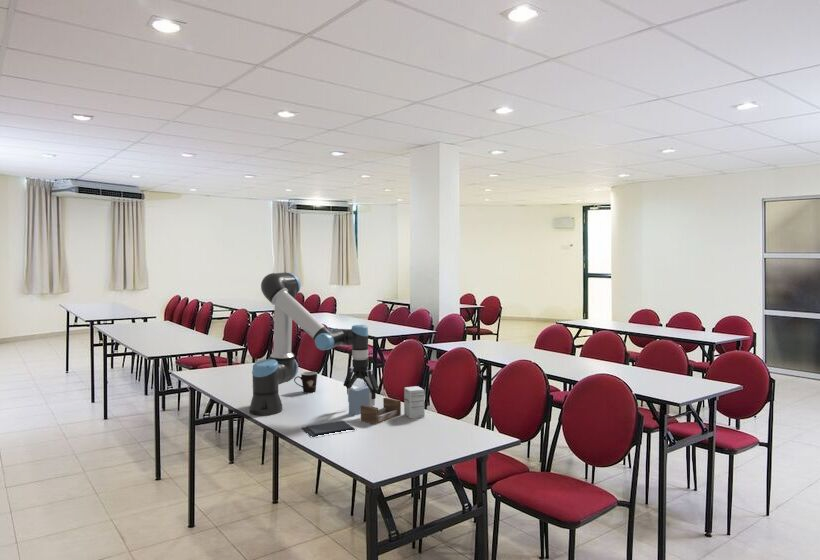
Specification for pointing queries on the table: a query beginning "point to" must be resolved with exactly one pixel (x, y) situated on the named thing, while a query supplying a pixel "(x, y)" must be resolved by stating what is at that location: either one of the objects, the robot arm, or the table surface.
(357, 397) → the blue-grey rectangular block
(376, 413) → the track frame
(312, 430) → the wallet
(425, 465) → the table surface
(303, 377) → the coffee mug
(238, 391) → the table surface
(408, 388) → the supplement box
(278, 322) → the robot arm
